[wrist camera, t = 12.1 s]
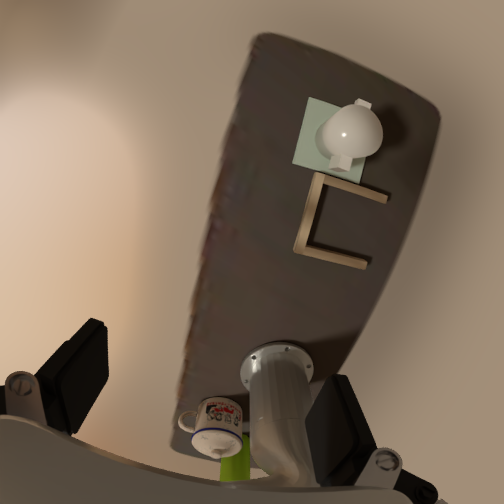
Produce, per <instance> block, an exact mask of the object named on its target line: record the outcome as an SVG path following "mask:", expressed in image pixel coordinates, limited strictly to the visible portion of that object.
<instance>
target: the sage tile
mask: <svg viewBox="0 0 504 504" xmlns="http://www.w3.org/2000/svg"><path fill="white" fill-rule="evenodd" d="M340 109H342V108H341V107H338V106H335V105H332V104H329V103H326V102H323V101H320V100H317V99H314V98H311V97H309V98H308V102H307V107H306V111H305V115H304V119H303V123H302V127H301V131H300V135H299V139H298V142H297V146H296V150H295V154H294V158H293V162H292V164H296V165H300V166H303V167H306V168H310V169H313V170H317V171H320V172H323V173H326V174H329V175H333V176H336V177H339V178H342V179H345V180H348V181H351V182H354V183H357V184H359V182H360V178H361V174H362V170H363V166H364V162H365V158H366V157H360V158H355V159H352V163H351V166H350V170H349V171H348V172H336V171H333V170H330V169H328V167H329V164H330V160H328V159H327V158H325V157H324V156H323V155H321V153H320V152H319V151H318V149H317V147H316V143H315V135H316V131H317V129H318V128H319V126H320V125H321V124H323V123H324V122H325V121H326V120H328V119H329V118H330V117H331V116H333V115H334V114H335V113H337V112H338V111H339V110H340Z"/></svg>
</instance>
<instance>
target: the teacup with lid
mask: <svg viewBox="0 0 504 504" xmlns="http://www.w3.org/2000/svg"><path fill="white" fill-rule="evenodd" d="M187 416H194V417H197V418H196V424H195V428H193V427H189V426H187V425H185V424H184V423H183V419H184V418H185V417H187ZM178 423H179V426H180V427H181V428H182V429H183V430H185V431H188V432H191V433H194V434H193V435H192V438H191V441H192V444H193V446H194V447H195V448H196V449H197V450H198V451H199V452H201V453H203V454H205V455H208V456H211V457H212V458H216V459H217V458H220V457H229V456H233V455H235V454H237V453H238V452H239V451H240V450H241V449H242V447H243V441H242V409H241V407H240V406H239V405H238V404H237V403H236V402H234V401H233V400H230V399H227V398H223V397H213V398H209V399H206V400H204V401H203V402H202V403H201V404H200V405H199V408H198V412H196V411H186V412H184V413H182V414H181V416H180V417H179V421H178Z"/></svg>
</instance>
